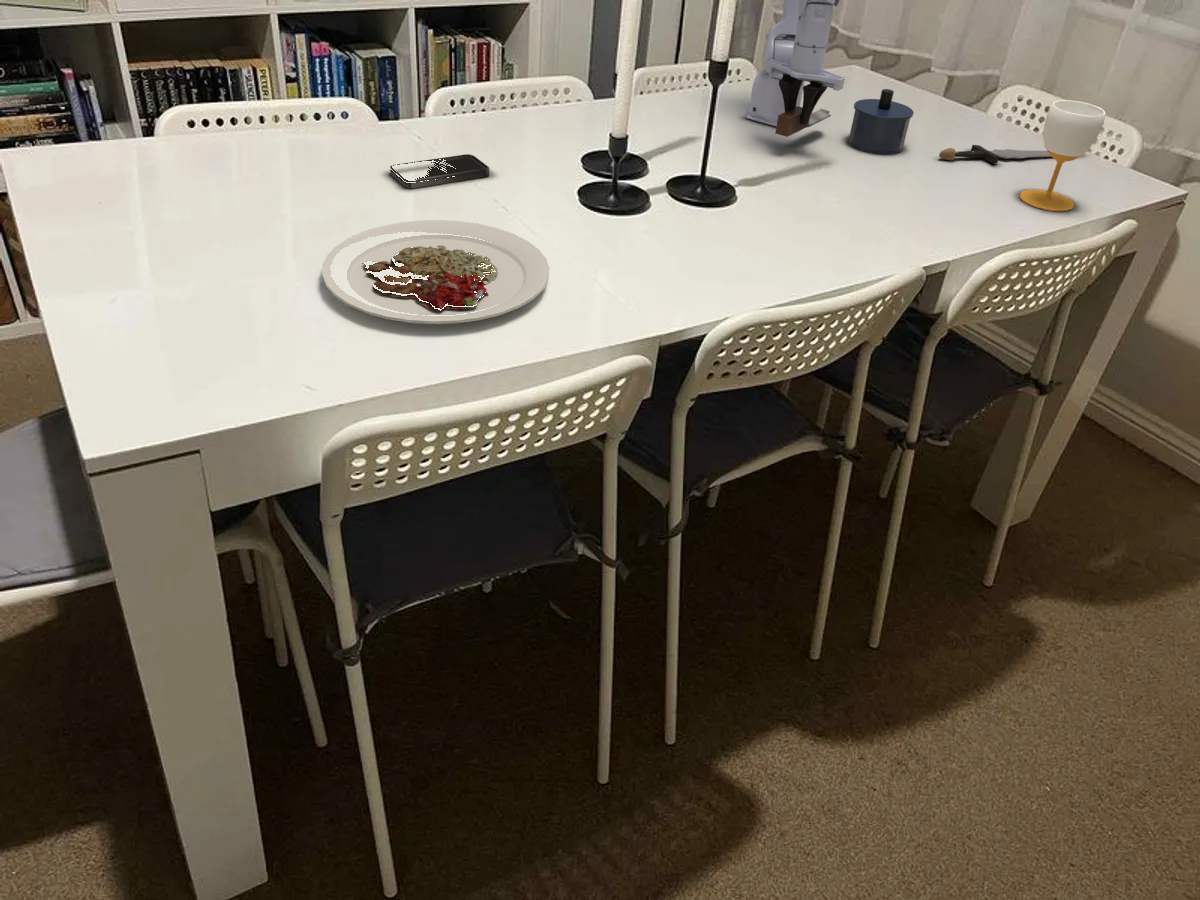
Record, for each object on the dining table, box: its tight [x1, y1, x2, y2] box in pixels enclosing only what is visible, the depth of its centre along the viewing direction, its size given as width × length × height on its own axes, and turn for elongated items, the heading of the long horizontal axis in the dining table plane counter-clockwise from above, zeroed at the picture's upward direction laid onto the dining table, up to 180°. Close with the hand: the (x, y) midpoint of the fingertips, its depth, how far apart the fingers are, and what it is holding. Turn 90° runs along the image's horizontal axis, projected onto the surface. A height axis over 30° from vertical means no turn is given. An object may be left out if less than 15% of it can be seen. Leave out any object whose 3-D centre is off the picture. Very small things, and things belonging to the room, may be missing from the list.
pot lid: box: [853, 88, 915, 120], centre depth 185 cm, size 11×11×4 cm
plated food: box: [321, 219, 550, 325], centre depth 132 cm, size 30×30×3 cm
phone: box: [389, 153, 490, 189], centre depth 163 cm, size 8×1×15 cm
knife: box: [774, 106, 832, 138], centre depth 184 cm, size 19×3×3 cm, turn 143°
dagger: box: [938, 144, 1052, 165], centre depth 188 cm, size 8×32×2 cm, turn 98°
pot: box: [848, 109, 911, 155], centre depth 188 cm, size 10×10×6 cm
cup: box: [1019, 99, 1107, 212], centre depth 167 cm, size 9×9×16 cm
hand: (796, 120), depth 182 cm, fingers closed on knife, 2 cm apart
